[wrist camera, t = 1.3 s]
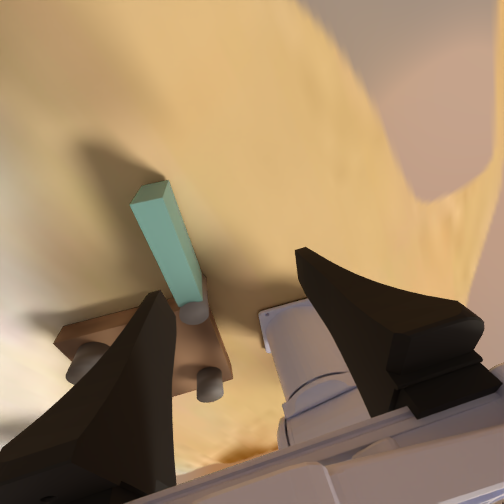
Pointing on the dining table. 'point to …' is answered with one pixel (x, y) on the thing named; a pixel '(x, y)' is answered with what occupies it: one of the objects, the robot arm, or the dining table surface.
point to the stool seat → (186, 352)
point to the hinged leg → (172, 249)
